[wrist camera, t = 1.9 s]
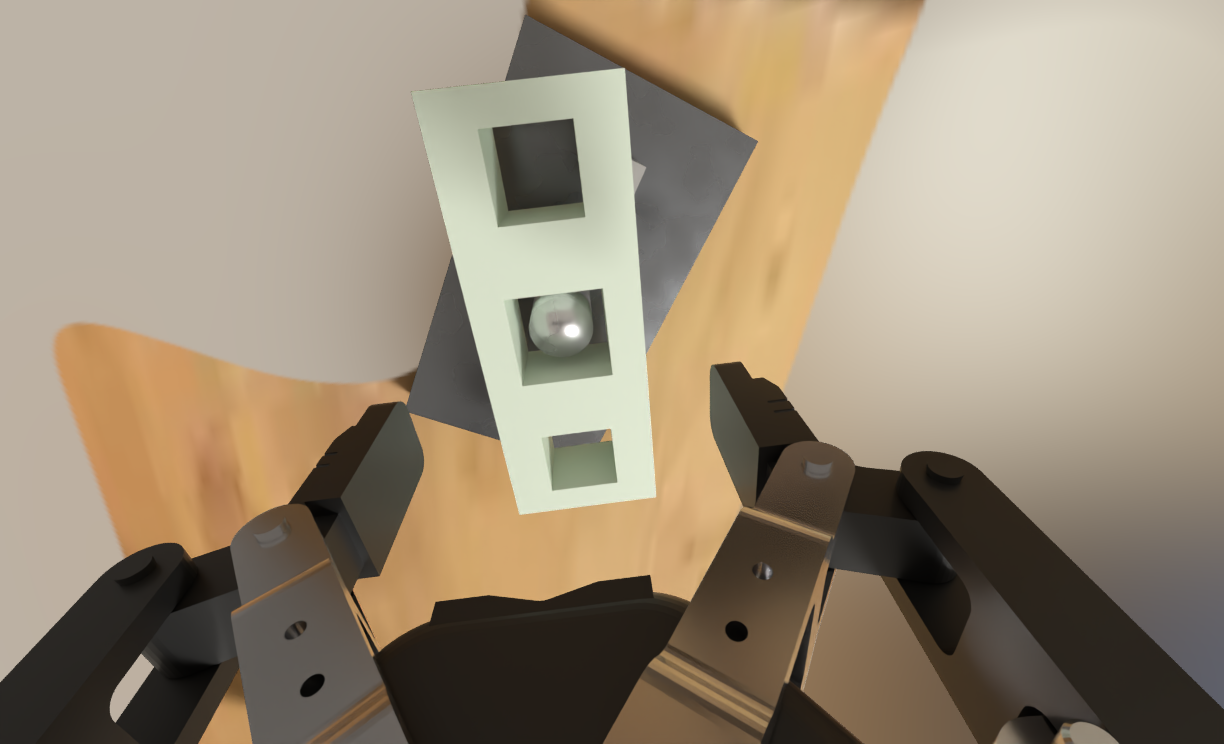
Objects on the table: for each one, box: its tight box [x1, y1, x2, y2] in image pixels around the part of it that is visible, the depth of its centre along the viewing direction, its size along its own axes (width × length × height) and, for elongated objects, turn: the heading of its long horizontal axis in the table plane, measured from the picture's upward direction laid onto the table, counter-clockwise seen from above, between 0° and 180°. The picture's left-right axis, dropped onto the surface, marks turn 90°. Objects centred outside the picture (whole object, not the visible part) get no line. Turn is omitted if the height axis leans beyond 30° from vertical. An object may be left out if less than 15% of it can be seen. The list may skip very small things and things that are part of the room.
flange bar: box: [411, 68, 656, 515], centre depth 19 cm, size 16×6×3 cm, turn 6°
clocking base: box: [406, 15, 758, 448], centre depth 21 cm, size 18×10×6 cm, turn 156°
